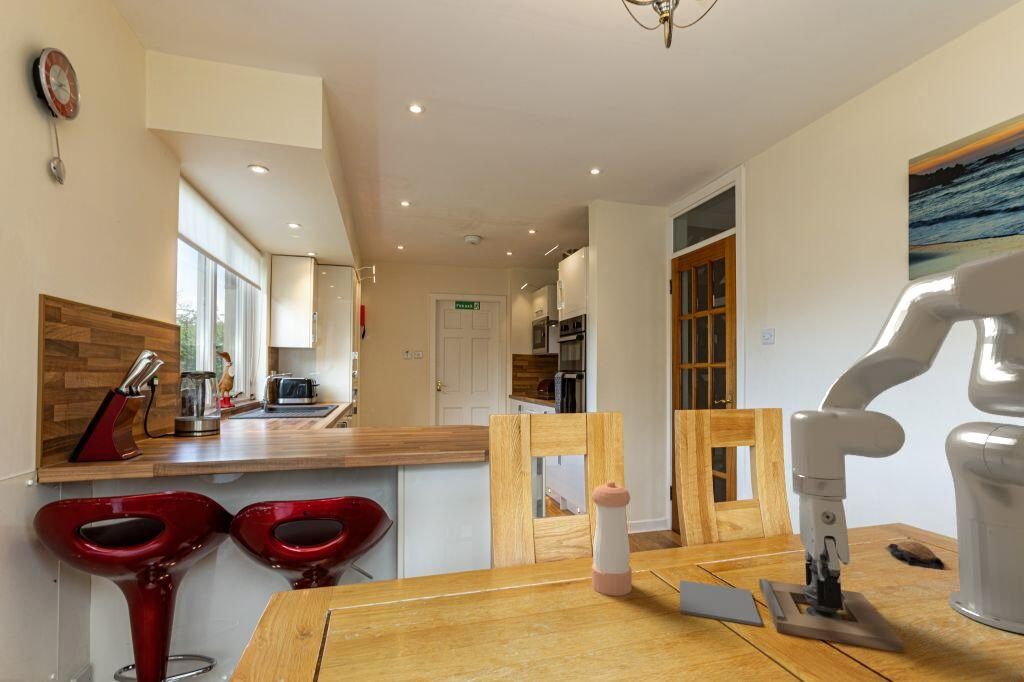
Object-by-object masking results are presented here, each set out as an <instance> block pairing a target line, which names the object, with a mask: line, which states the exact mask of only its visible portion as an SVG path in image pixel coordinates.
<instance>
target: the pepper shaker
mask: <svg viewBox="0 0 1024 682" xmlns="http://www.w3.org/2000/svg"><path fill="white" fill-rule="evenodd" d="M591 497H592V500H593V502H594V503H595V504H596V506H595V507H596V509H595V511H596V512H595V530H594V531H595V532H594V538H593V546H592V549H593V551H592V552H593V563H592V565H591V587H592V589H593V590H594V591H596V592H598V593H600V594H603V595H607V596H624V595H627V594H629V593H631V592H632V588H633V583H632V578H633V576H632V575H633V574H632V568H631V566H630V543H629V537H628V531H627V506H628V505H629V503H630V500H631V495H630V493H629V491H628V489H627V488H625V487H623V486H622V485H621V486H620V485H619V484H616V483H615V481H612V480H609V481H607V482H606V483H605V484H601V485H598V486H596V487H595V488H594V490H593V491H592V494H591Z"/></svg>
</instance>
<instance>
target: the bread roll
mask: <svg viewBox="0 0 1024 682" xmlns="http://www.w3.org/2000/svg"><path fill="white" fill-rule="evenodd" d="M884 549H885V550H886V551H887V552H888V553H889V555H891V556H892V557H893V558H895V559H896V560H897V561H899V562H900V563H902V564H904V565H907V566H911V567H917V568H918V567H919V568H924V569H927V568H928V569H933V570H946V569H947V568H946V567H945V564H944V562H943V561H942V560H941V559H940V558H938V557H937V555H936V554H935V553H934V552H933V551H932V550H931V549H930V548H929V547H927V546H926V545H924V544H922V543H919V542H915V541H901V542H898V544H896V543H890V544H889V545H888V546H885V547H884Z"/></svg>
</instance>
